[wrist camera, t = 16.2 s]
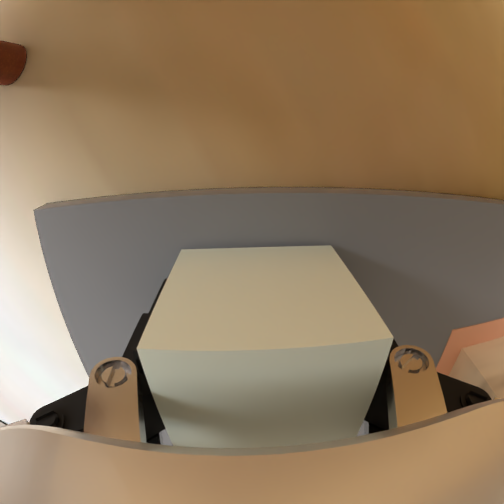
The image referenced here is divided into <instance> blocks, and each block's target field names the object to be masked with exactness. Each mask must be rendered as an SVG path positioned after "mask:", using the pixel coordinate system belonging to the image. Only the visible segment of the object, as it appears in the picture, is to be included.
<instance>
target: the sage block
mask: <svg viewBox="0 0 504 504" xmlns="http://www.w3.org/2000/svg"><path fill="white" fill-rule="evenodd" d="M393 338H394V337H393V335H392V334H391V332H390V331H389V329H388V328H387V326H386V324H385V323H384V321H383V320H382V318H381V317H380V315H379V314H378V312H377V311H376V309H375V308H374V306H373V305H372V303H371V302H370V300H369V299H368V297H367V296H366V294H365V293H364V291H363V290H362V288H361V287H360V285H359V284H358V283H357V281H356V280H355V278H354V277H353V275H352V274H351V273H350V271H349V270H348V268H347V267H346V265H345V264H344V263H343V261H342V260H341V258H340V257H339V256H338V254H337V253H336V251H335V250H334V249H333V247H332V246H331V245H324V246H285V247H248V248H213V249H181V251H180V253H179V256H178V258H177V260H176V262H175V264H174V266H173V268H172V270H171V272H170V274H169V276H168V279H167V281H166V283H165V285H164V287H163V289H162V292H161V294H160V296H159V298H158V300H157V303H156V305H155V307H154V309H153V311H152V314H151V316H150V318H149V321H148V323H147V325H146V327H145V330H144V332H143V334H142V337H141V339H140V341H139V344H138V346H137V351H138V355H139V358H140V361H141V364H142V367H143V370H144V373H145V376H146V379H147V382H148V384H149V387H150V390H151V393H152V395H153V398H154V401H155V403H156V406H157V409H158V411H159V414H160V416H161V419H162V421H163V423H164V426H165V428H166V431H167V433H168V435H169V438H170V440H171V442H172V444H173V446H181V447H198V448H263V447H279V446H292V445H302V444H311V443H319V442H326V441H333V440H339V439H345V438H351V437H356V436H357V434H358V432H359V430H360V428H361V425H362V423H363V421H364V418H365V416H366V414H367V411H368V409H369V406H370V404H371V401H372V399H373V396H374V394H375V391H376V389H377V386H378V383H379V380H380V378H381V375H382V372H383V369H384V366H385V363H386V360H387V357H388V354H389V351H390V348H391V345H392V342H393Z"/></svg>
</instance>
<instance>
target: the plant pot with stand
mask: <svg viewBox="0 0 504 504" xmlns="http://www.w3.org/2000/svg"><path fill="white" fill-rule="evenodd" d="M26 56H27V55H26V50H25V48H24V46H22V45H19V44H15V43H10V42H5V41H0V85H9V84H12V83H13V82H14V81H15V80H17V78H18V77H19V76H20V74H21V72H22V70H23V69H24V66H25V63H26Z"/></svg>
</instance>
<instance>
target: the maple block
mask: <svg viewBox="0 0 504 504" xmlns="http://www.w3.org/2000/svg"><path fill="white" fill-rule="evenodd" d="M448 376H449V377H452V378H455V379H458V380H460V381H463V382H466V383H468V384H471V385H474V386H477V387H479V388H481V389H483V390H485V391H486V392H487V393H488V394H489V396H490V397H491V399H492V400H493V399H494V397H496V398H500V399H502V398H504V336H503V337H500V338H497V339H493V340H490V341H487V342H483V343H480V344H476V345H472V346H468V347H465V348H462V349H461V351H460V353H459V355H458V357H457V360H456V362H455V364H454V366H453V368H452V370H451V372H450V374H449V375H448Z"/></svg>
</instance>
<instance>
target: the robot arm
mask: <svg viewBox="0 0 504 504" xmlns="http://www.w3.org/2000/svg"><path fill="white" fill-rule="evenodd" d="M166 281H167V279H164V281H163V283H162V285H161V287H160V289H159V292H158V294H157V296H156V298H155V300H154V302H153V304H152V307H151V309H150V311H149V313H143V314H142V315H141V317H140V319H139V321H138V323H137V326H136V328H135V330H134V332H133V334H132V336H131V338H130V340H129V343H128V345H127V347H126V349H125V351H124V354H123V356H122V357H111V358H107V359H104V360H102V361H100V362H99V363H98V364H96V365H95V366H94V367H93V369H92V370H91V373H90V377H89V384H88V386H87V387H84V388H82V389H80V390H78V391H76V392H74V393H72V394H70V395H67V396H65V397H63V398H61V399H59V400H57V401H54V402H52V403H50V404H48V405H46V406H43V407H42V408H40V409H38V410H37V411H36V412H35V413H34V414H33V416H32V417H31V419H30V422H28V421H27V420H26V419H24V420H21V421H17V422H14V423H11V424H8V425H5V424H3V423H2V422H0V504H504V398H502V399H500V398H496V397H494V399H493V400H492V399H491V397H490V396H489V394H488V393H487V392H486V391H485V390H483V389H481V388H479V387H477V386H474V385H471V384H468V383H466V382H463V381H460V380H458V379H455V378H452V377H449V376H447V375H444V374H441V373H439V372H437V371H436V368H435V364H434V361H433V359H432V357H431V355H430V354H429V353H428V352H427V351H425V350H424V349H422V348H420V347H417V346H413V345H402V346H398V344H397V343H396V341H395V339H394V338H393V342H392V345H391V348H390V351H389V354H388V357H387V360H386V363H385V366H384V369H383V372H382V375H381V378H380V380H379V383H378V386H377V389H376V391H375V394H374V396H373V399H372V401H371V404H370V406H369V409H368V411H367V414H366V416H365V418H364V420H365V423H364V435H362V436H357V437H351V438H345V439H339V440H333V441H326V442H319V443H311V444H302V445H292V446H279V447H263V448H198V447H181V446H169V445H164V443H163V437H162V432H161V431H163V430H164V429H166V428H165V426H164V423H163V421H162V419H161V416H160V414H159V411H158V409H157V406H156V403H155V401H154V398H153V395H152V393H151V390H150V387H149V384H148V382H147V379H146V376H145V373H144V370H143V367H142V364H141V361H140V358H139V355H138V351H137V346H138V344H139V341H140V339H141V337H142V334H143V332H144V330H145V327H146V325H147V323H148V321H149V318H150V316H151V314H152V311H153V309H154V307H155V305H156V303H157V300H158V298H159V296H160V294H161V292H162V289H163V287H164V285H165V283H166Z"/></svg>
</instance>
